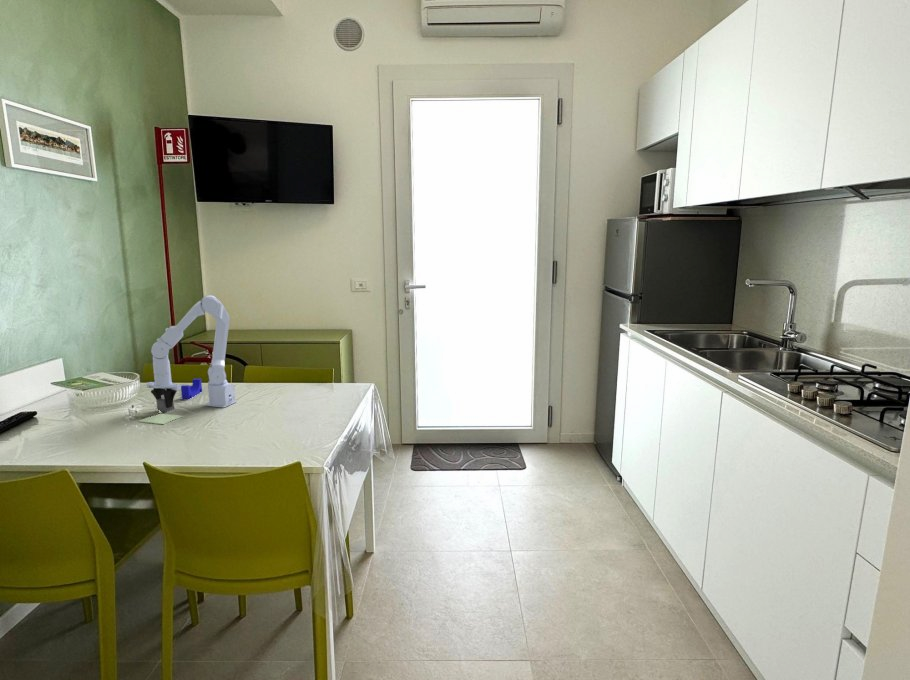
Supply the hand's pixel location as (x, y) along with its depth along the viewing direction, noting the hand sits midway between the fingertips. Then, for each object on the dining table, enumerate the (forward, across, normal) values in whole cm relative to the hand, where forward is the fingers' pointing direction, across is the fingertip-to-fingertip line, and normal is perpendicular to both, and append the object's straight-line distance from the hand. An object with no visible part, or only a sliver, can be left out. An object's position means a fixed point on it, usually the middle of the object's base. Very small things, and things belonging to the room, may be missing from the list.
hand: (165, 406), depth 208 cm
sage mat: (+2, +6, -9) cm, 11 cm away
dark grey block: (+2, 0, 0) cm, 2 cm away
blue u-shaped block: (+2, -6, +20) cm, 21 cm away
